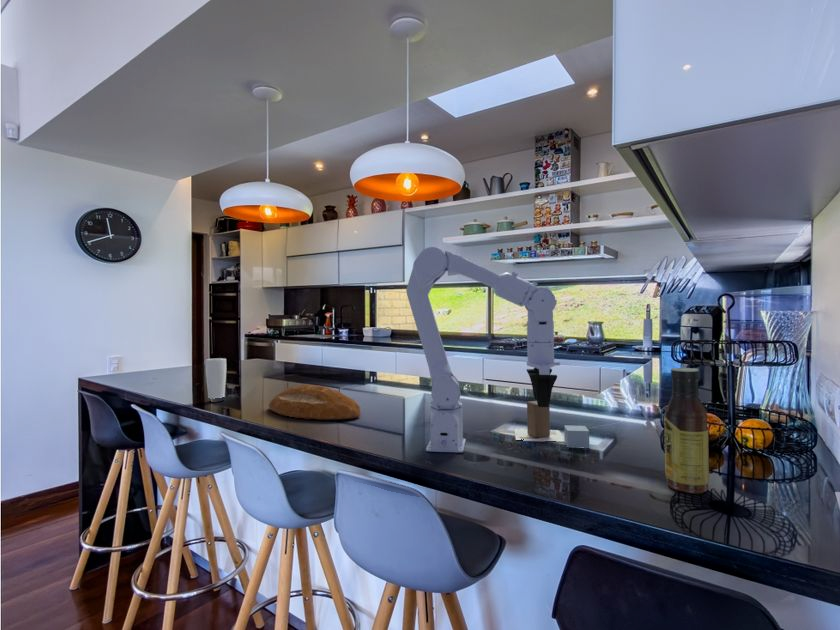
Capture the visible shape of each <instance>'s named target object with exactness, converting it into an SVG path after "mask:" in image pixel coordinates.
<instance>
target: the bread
mask: <svg viewBox="0 0 840 630" xmlns="http://www.w3.org/2000/svg"><path fill="white" fill-rule="evenodd" d="M268 407H269V410H271V411H272V412H274V413H276V414H279V415H280V416H283V415H284V416H283V417H287V416H289V417H288V418H291V417H295V418H294V419H296V418H303V419H302V420H310V419H316V420H315V421H342V420H350V419H356V418H358V417H360V416H361V415H362V414H361V407H360V406H359V404H358V403H357V401H356V400H355V399H353V398H351V397H349V396H347V395H346V394H343V393H342V392H340V391H338V390H336V389H331V388H330V387H327V386H324V385H323V386H322V385H313V384H301V385H295V386H291V387H289V388H286V389H283V390H282V391H280V392H279V393H278V394H276V395H275V396H274V397H273V399H271V400H270V402H269V404H268Z"/></svg>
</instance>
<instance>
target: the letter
mask: <svg viewBox="0 0 840 630" xmlns="http://www.w3.org/2000/svg"><path fill="white" fill-rule="evenodd" d="M513 430H514V436H515V441H516V440H521V439H522V440H523V439H524V440H523V441H522V442H545V441H556V442H555V443H565V441H564V436H563V435H562V433H561V431H560V430H558V429H550V436H549V437H541V438H535V437H533V436H531V435H529V434H528V433H527V429H522V428H521V429H520V428H519V429H518V428H517V429H516V428H515V429H513Z"/></svg>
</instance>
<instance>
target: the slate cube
mask: <svg viewBox="0 0 840 630" xmlns="http://www.w3.org/2000/svg"><path fill="white" fill-rule="evenodd" d="M563 428H564V436H563V438H564V441H565V442H564V444H565V446H566V445H567V446H566V448H567V447H584V448H589V449H590V430H589V429H588V428H587V426H586V425H568V424H567V425H563Z"/></svg>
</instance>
